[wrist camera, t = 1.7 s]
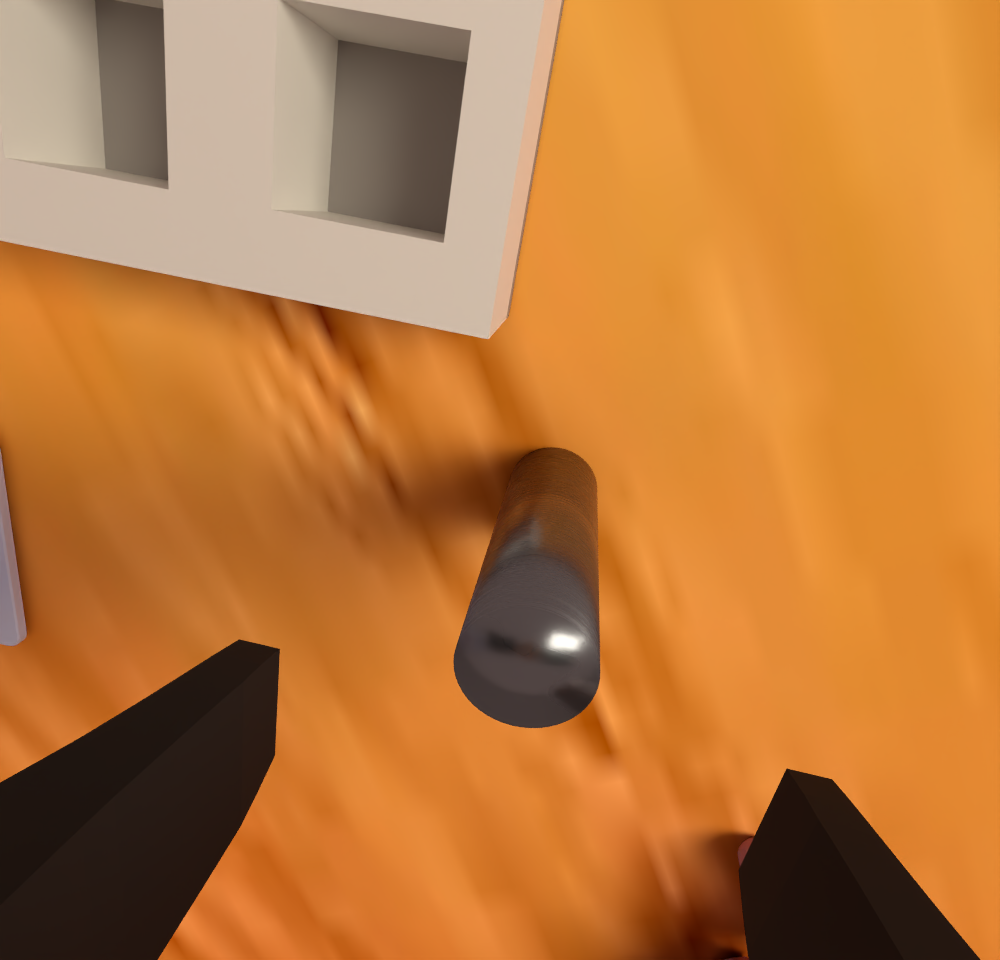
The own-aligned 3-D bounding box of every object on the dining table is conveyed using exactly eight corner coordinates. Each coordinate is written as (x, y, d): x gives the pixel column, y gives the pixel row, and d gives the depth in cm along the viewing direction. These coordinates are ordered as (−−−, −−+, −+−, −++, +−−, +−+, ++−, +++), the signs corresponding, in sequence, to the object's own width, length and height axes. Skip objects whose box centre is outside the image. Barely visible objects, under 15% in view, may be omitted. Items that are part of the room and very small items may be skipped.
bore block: (508, 316, 17) (488, 339, 13) (81, 231, 17) (-37, 232, 14) (565, -9, 14) (557, -79, 11) (54, -95, 15) (-98, -185, 11)
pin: (502, 518, 19) (444, 709, 11) (517, 439, 18) (465, 593, 10) (586, 536, 19) (582, 741, 11) (606, 458, 18) (616, 626, 10)
